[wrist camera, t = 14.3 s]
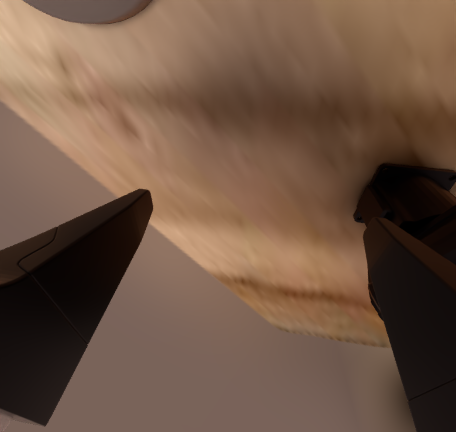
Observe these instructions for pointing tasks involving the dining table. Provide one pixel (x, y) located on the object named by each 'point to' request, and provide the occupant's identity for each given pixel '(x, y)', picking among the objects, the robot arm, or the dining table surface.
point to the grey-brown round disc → (90, 9)
